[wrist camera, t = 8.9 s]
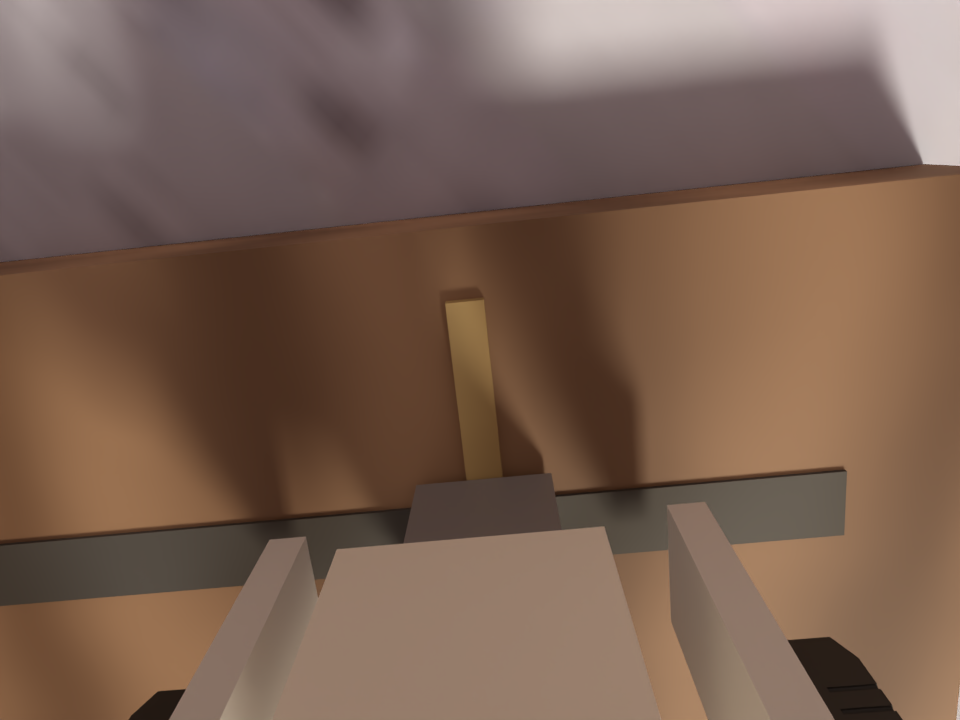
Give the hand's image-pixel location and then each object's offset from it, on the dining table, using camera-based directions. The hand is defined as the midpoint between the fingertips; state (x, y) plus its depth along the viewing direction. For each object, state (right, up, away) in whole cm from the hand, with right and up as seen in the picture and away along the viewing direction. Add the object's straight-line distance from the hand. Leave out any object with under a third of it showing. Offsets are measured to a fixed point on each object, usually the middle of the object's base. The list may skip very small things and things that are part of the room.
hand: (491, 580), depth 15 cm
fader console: (-5, +1, +5) cm, 7 cm away
